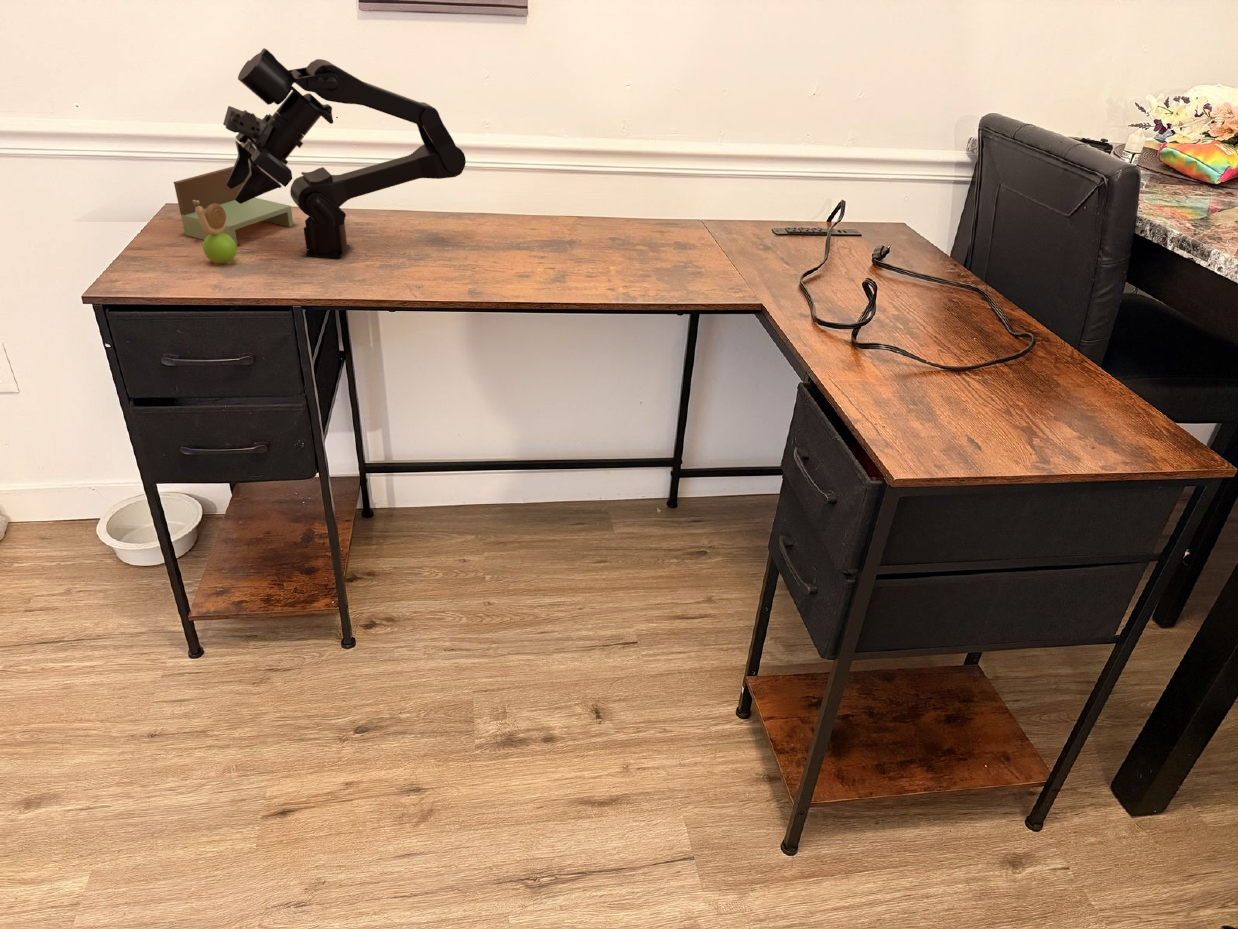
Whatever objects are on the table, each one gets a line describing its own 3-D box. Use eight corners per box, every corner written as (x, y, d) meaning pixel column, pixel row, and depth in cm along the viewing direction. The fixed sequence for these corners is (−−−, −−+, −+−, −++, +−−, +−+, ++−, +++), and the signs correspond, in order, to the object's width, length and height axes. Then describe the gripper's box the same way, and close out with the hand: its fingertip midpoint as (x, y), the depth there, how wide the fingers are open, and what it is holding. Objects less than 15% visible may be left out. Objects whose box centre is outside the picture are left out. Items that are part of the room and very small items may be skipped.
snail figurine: (195, 266, 150) (180, 198, 143) (219, 255, 155) (206, 188, 148) (221, 271, 149) (208, 202, 142) (245, 260, 154) (233, 193, 147)
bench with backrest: (293, 225, 171) (286, 174, 166) (233, 247, 159) (223, 193, 153) (247, 214, 175) (239, 164, 170) (185, 235, 163) (173, 181, 157)
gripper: (239, 78, 147) (183, 148, 148) (259, 100, 134) (197, 177, 135) (293, 124, 155) (239, 190, 156) (317, 149, 141) (258, 221, 143)
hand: (233, 194), depth 147 cm, fingers open, 9 cm apart
